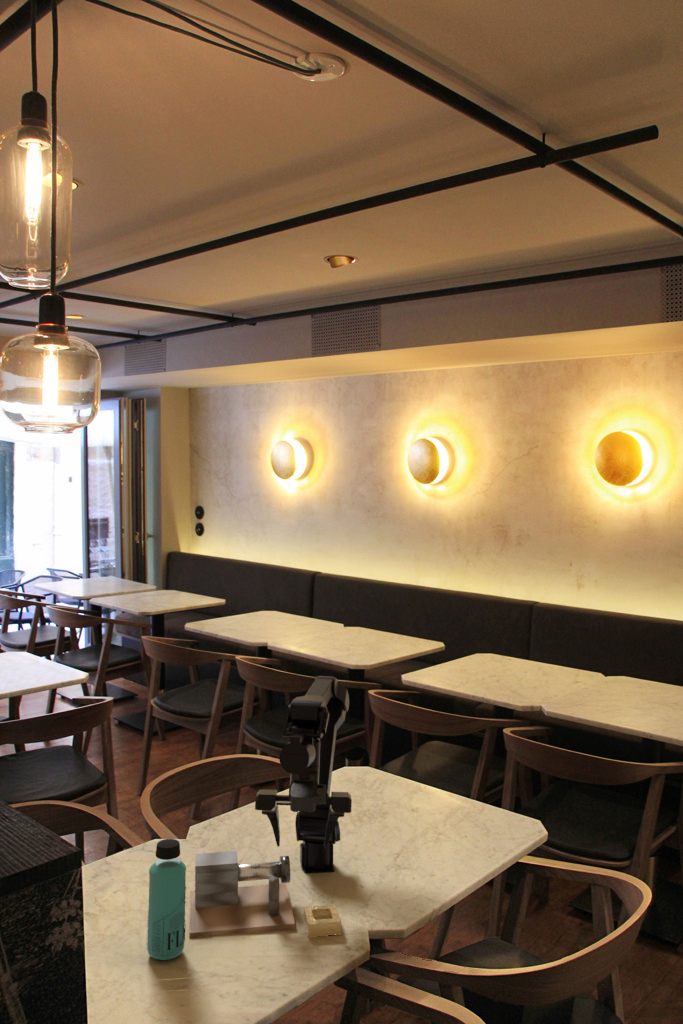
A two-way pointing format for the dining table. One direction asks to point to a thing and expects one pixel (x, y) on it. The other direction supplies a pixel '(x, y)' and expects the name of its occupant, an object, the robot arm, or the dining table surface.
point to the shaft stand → (234, 900)
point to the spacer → (322, 920)
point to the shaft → (265, 870)
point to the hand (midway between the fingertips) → (301, 846)
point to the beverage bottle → (166, 902)
